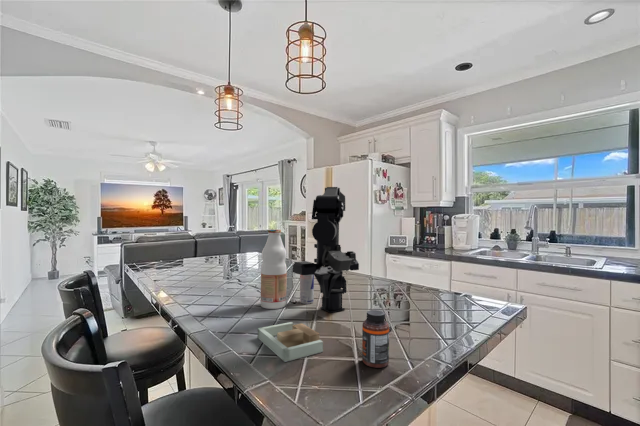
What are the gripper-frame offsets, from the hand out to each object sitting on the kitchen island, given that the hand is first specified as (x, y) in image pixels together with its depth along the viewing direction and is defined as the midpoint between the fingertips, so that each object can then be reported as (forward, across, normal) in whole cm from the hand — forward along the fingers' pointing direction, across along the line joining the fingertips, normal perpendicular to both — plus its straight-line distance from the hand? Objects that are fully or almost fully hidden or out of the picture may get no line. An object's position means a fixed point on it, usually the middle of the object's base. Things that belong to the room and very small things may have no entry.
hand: (326, 297), depth 85 cm
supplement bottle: (+11, +1, -19) cm, 22 cm away
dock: (+11, -11, 0) cm, 16 cm away
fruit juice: (+11, 0, +34) cm, 36 cm away
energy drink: (+10, +13, +32) cm, 36 cm away
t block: (+11, -9, 0) cm, 14 cm away
